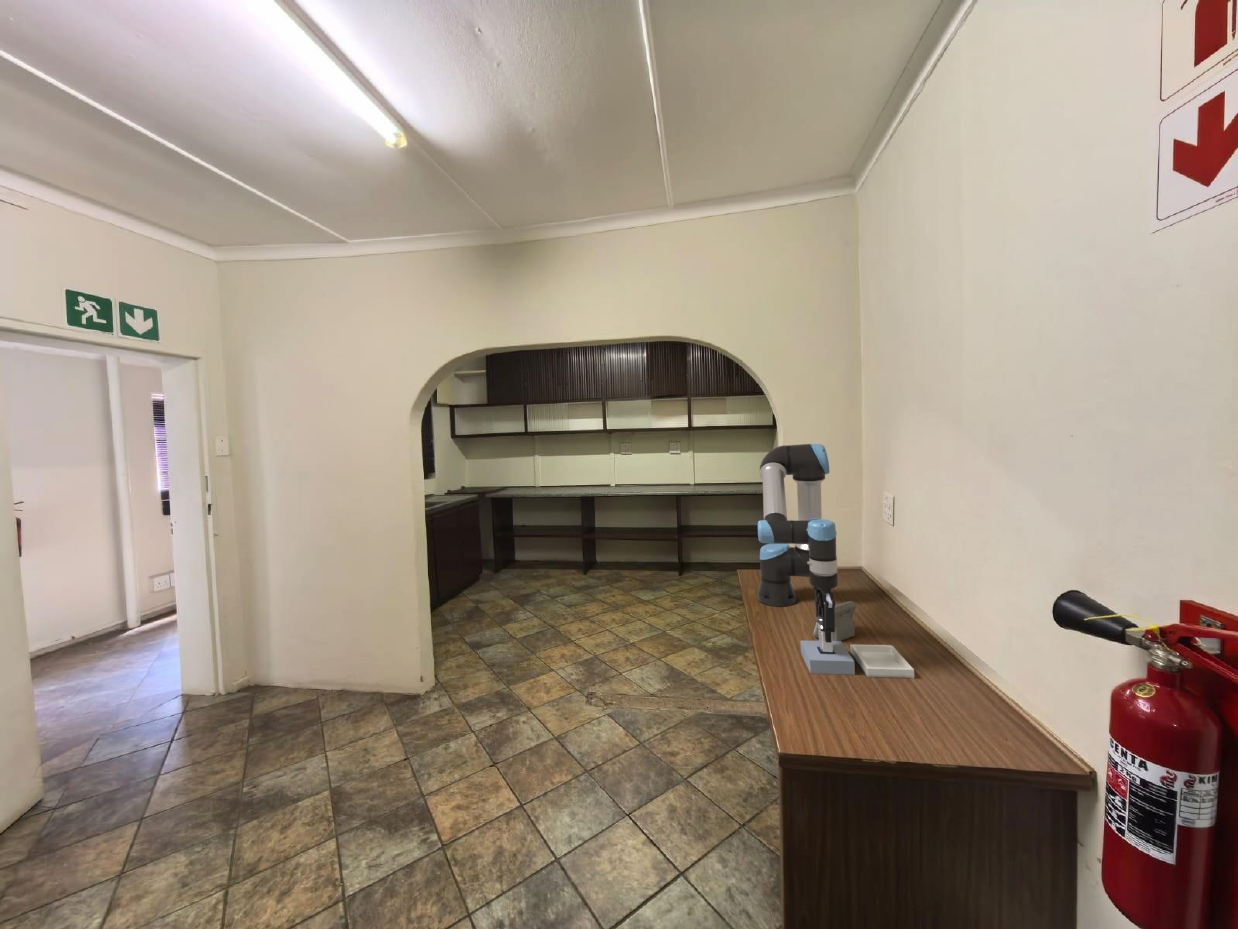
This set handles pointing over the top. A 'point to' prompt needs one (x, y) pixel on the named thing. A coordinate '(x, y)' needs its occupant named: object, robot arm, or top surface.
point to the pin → (820, 634)
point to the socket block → (827, 659)
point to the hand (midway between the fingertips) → (825, 647)
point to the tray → (881, 661)
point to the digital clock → (842, 622)
